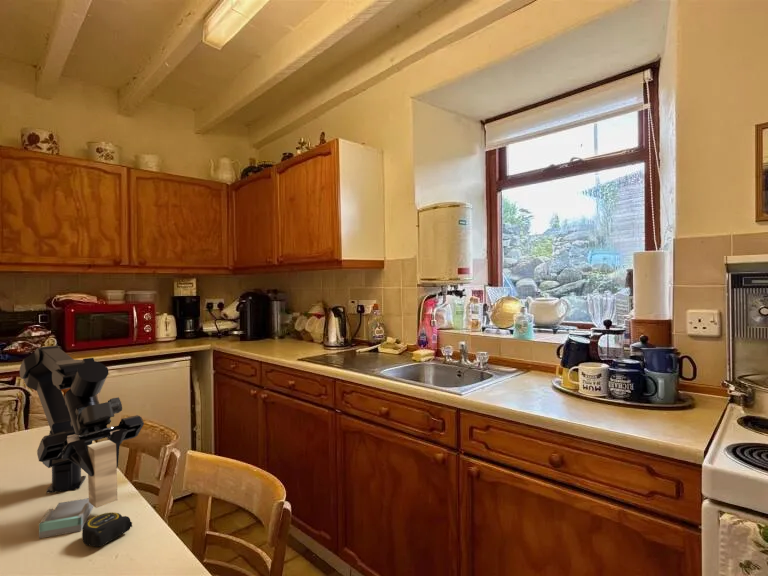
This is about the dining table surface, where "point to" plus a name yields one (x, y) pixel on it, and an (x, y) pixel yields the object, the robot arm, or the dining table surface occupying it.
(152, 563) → the dining table surface
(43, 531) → the grey shallow tray
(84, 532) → the tape measure
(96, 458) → the beech post
